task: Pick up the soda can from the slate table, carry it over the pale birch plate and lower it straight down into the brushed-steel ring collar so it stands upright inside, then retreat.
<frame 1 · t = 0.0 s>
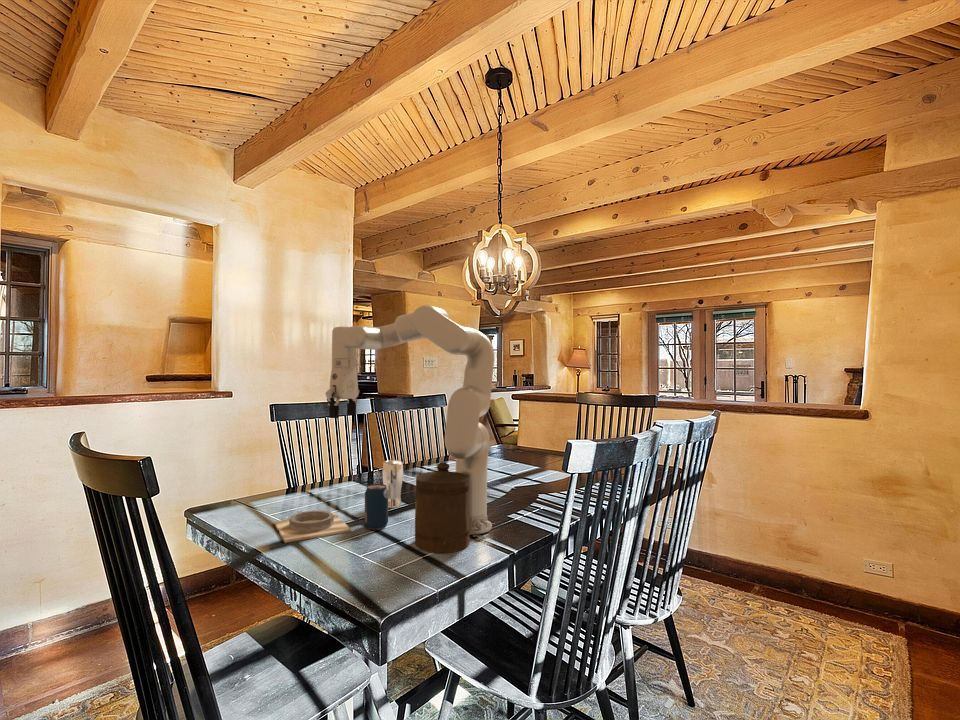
hand: (343, 416, 162), 31 cm above the table, tool pointing down, fingers open, 9 cm apart
soda can: (376, 527, 148), on the table
wooden container: (442, 544, 134), on the table
collar plate: (311, 527, 146), on the table
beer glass: (392, 506, 169), on the table
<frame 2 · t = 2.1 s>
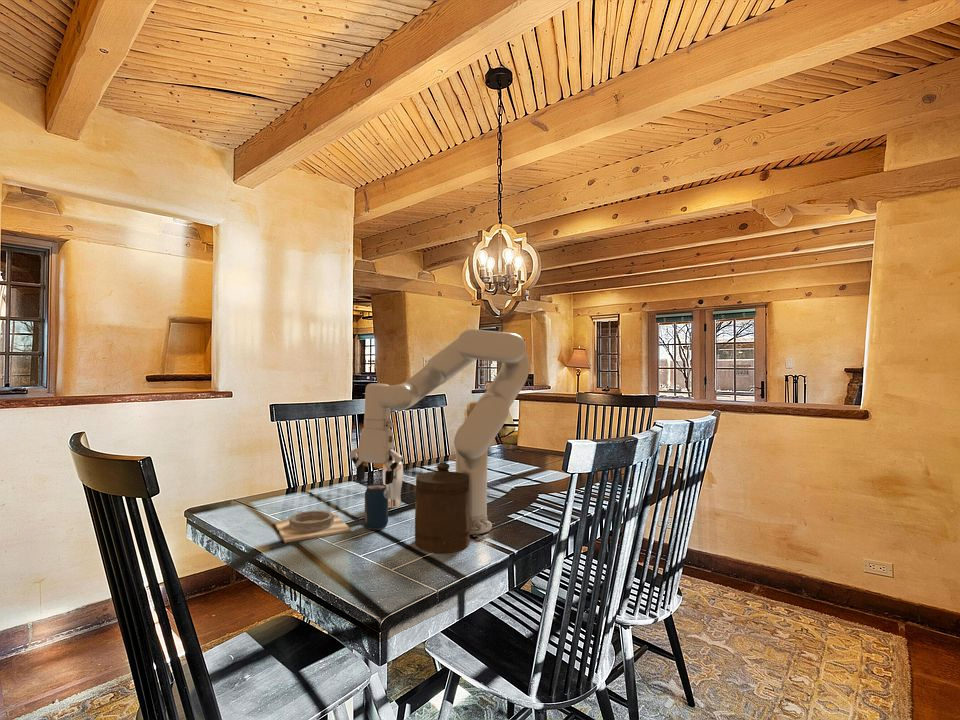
hand: (374, 481, 148), 13 cm above the table, tool pointing down, fingers open, 9 cm apart
nothing on the table moved.
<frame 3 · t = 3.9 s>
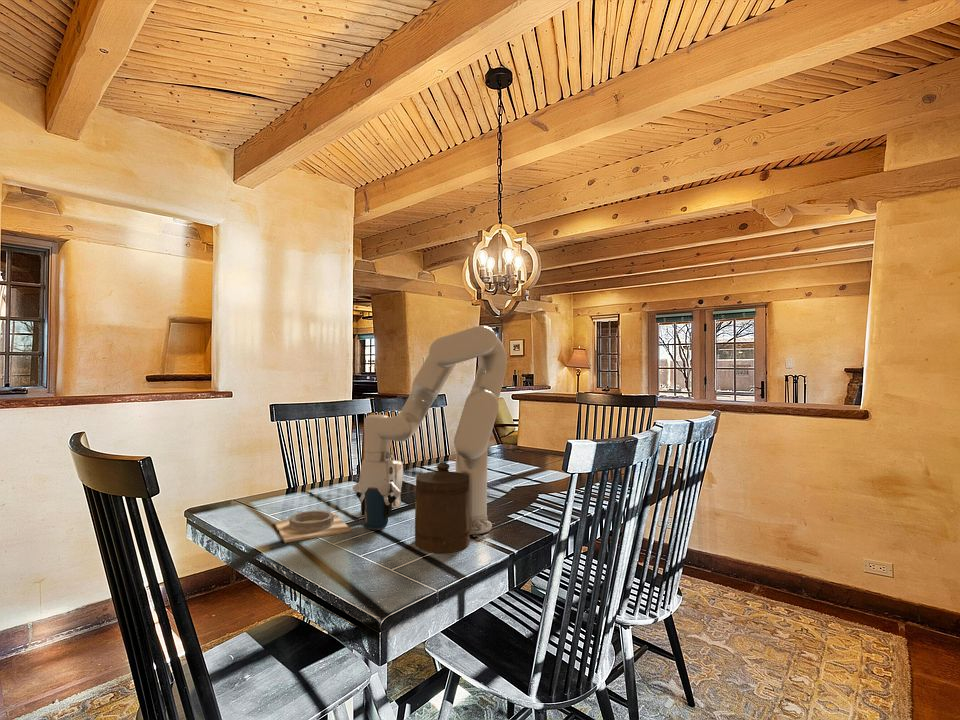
hand: (376, 515, 148), 3 cm above the table, tool pointing down, fingers closed on soda can, 6 cm apart
soda can: (376, 527, 148), on the table, touching gripper
everything else where it was.
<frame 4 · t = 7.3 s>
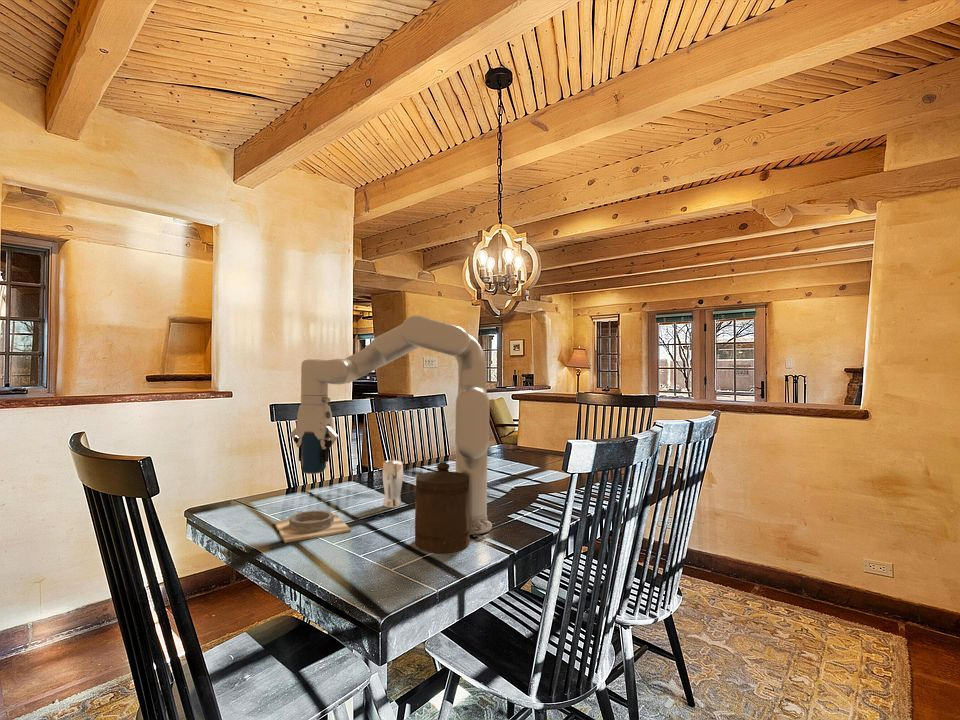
hand: (313, 460, 146), 20 cm above the table, tool pointing down, fingers closed on soda can, 6 cm apart
soda can: (313, 472, 146), point 16 cm above the table, touching gripper
everything else where it was.
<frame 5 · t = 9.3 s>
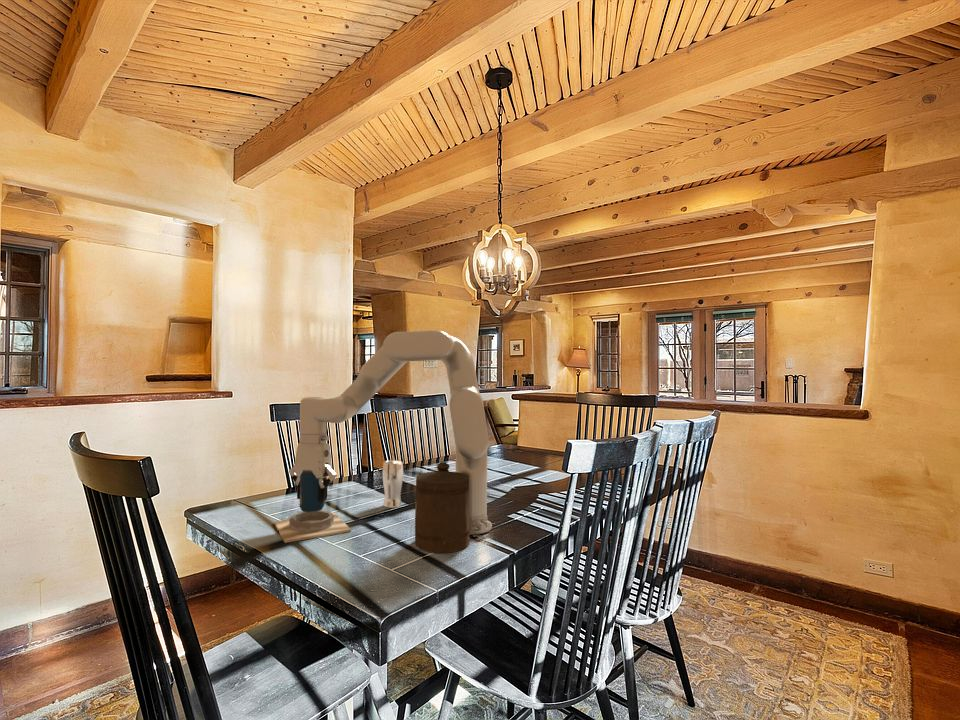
hand: (311, 498, 146), 9 cm above the table, tool pointing down, fingers closed on soda can, 6 cm apart
soda can: (312, 510, 146), point 5 cm above the table, touching gripper
everything else where it was.
when the fingers open (6 cm above the table, at t = 10.9 s): soda can drops 2 cm, resting on collar plate.
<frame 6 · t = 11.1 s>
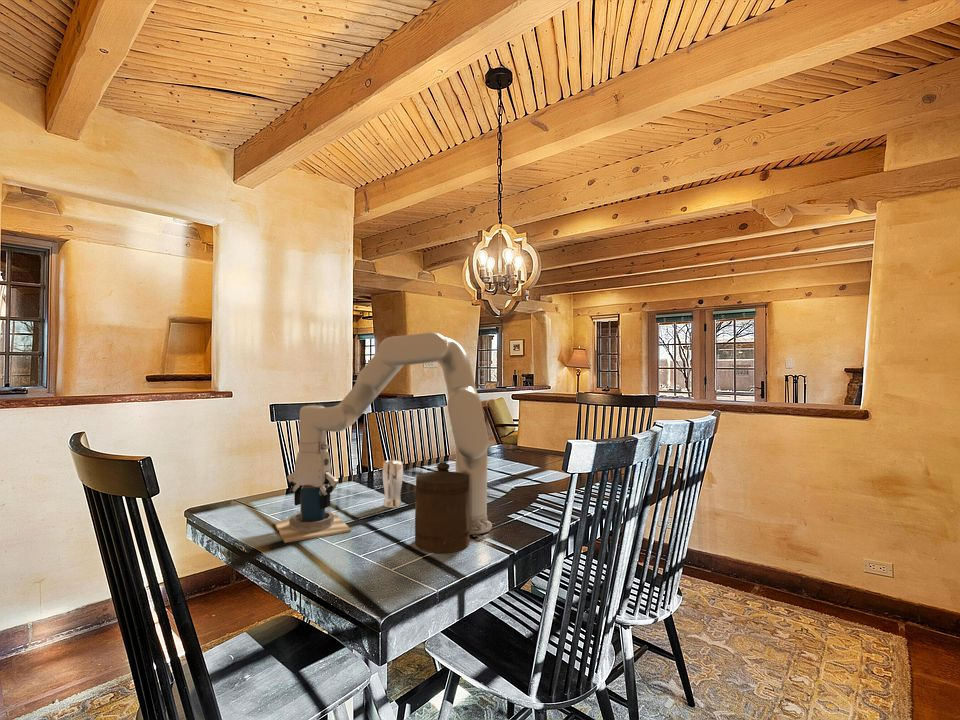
hand: (312, 505, 146), 6 cm above the table, tool pointing down, fingers open, 9 cm apart
soda can: (312, 525, 146), point 1 cm above the table, touching collar plate
everything else where it was.
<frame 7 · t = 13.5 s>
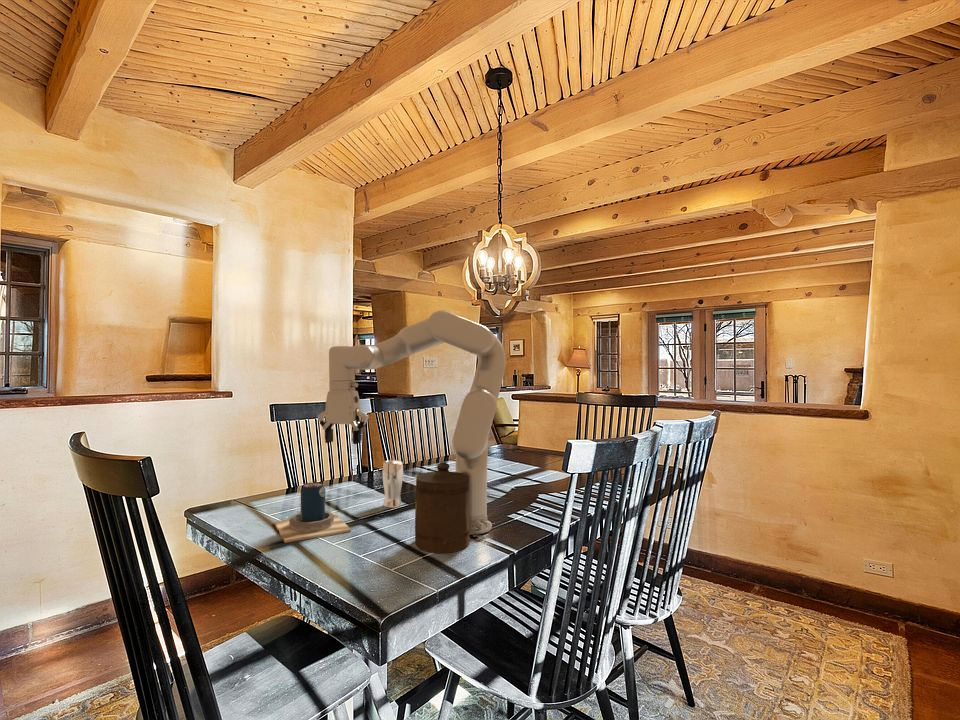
hand: (342, 442, 150), 24 cm above the table, tool pointing down, fingers open, 9 cm apart
nothing on the table moved.
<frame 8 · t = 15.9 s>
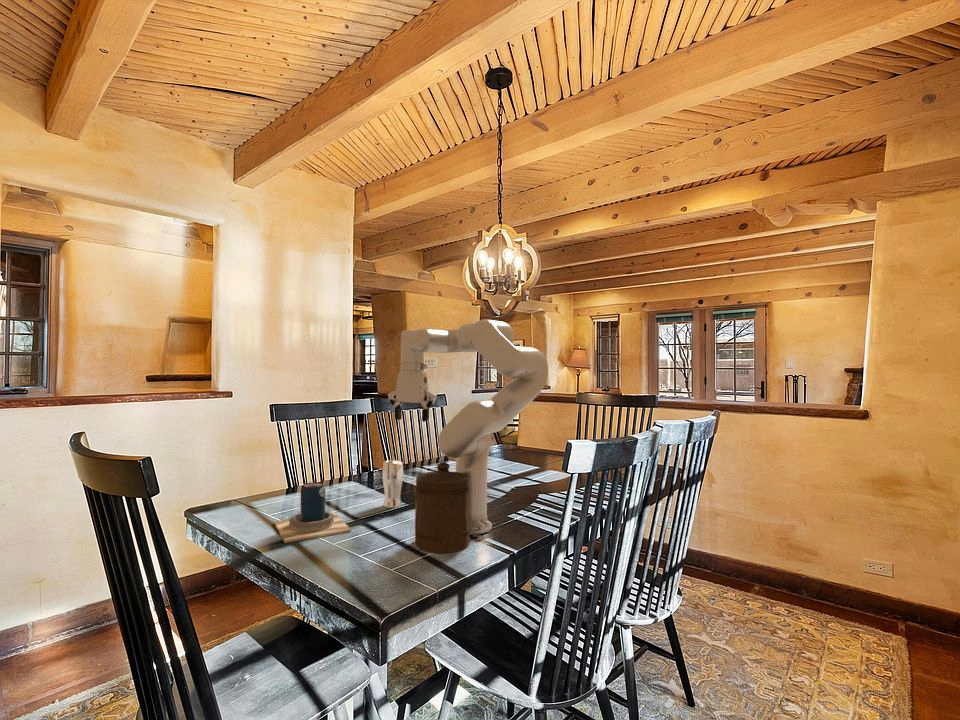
hand: (411, 420, 161), 30 cm above the table, tool pointing down, fingers open, 9 cm apart
nothing on the table moved.
at the end: soda can 0.4 cm off-centre on the collar plate, point 0.6 cm above the collar plate's base; soda can tilted 0°; the gripper is holding nothing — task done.
